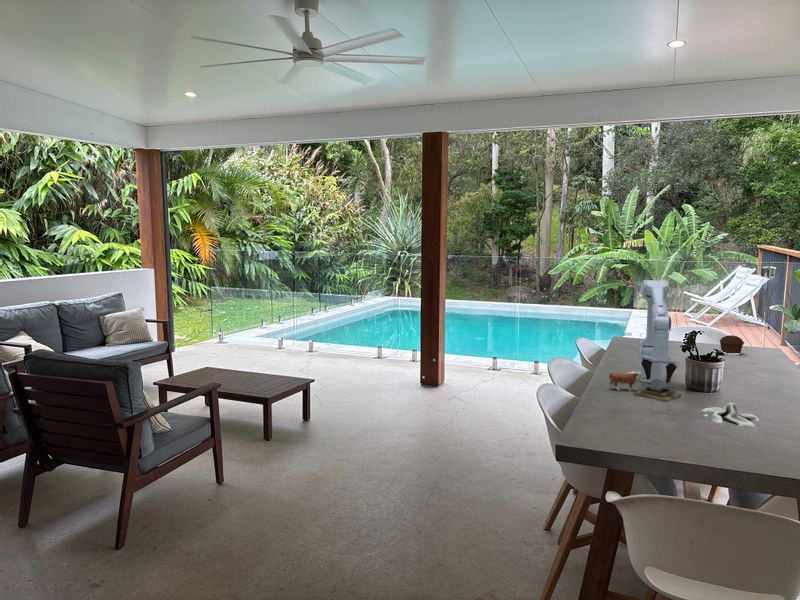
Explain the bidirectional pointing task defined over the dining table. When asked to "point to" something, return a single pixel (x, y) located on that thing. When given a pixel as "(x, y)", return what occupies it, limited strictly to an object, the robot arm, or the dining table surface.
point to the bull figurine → (625, 379)
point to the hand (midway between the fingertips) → (658, 380)
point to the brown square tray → (658, 394)
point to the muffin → (731, 344)
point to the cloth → (731, 415)
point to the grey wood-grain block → (658, 386)
